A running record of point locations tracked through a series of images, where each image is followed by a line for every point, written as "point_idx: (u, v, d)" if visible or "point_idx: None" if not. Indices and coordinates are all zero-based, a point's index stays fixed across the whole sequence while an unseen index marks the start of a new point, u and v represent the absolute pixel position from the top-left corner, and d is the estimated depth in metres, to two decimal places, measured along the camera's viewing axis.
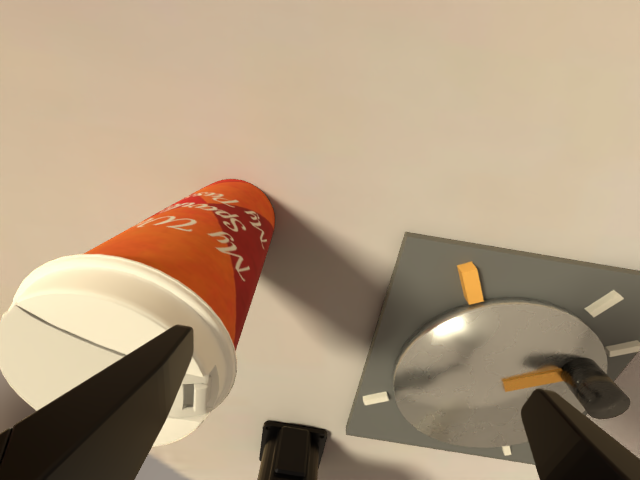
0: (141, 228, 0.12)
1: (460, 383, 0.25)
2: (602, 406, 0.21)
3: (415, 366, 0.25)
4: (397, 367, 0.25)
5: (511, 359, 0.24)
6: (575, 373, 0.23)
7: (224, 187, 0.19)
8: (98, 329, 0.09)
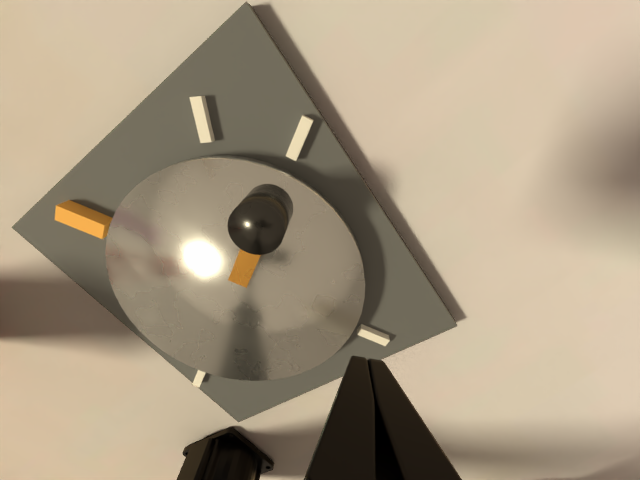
0: None
1: (206, 311, 0.20)
2: (251, 235, 0.14)
3: (154, 326, 0.21)
4: None
5: (201, 253, 0.18)
6: None
7: None
8: None
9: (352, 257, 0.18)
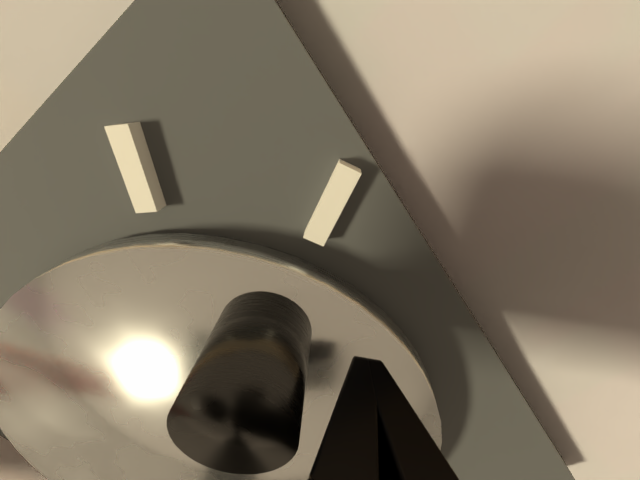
0: None
1: (169, 473, 0.12)
2: (224, 444, 0.06)
3: None
4: None
5: (149, 398, 0.10)
6: None
7: None
8: None
9: (421, 405, 0.10)
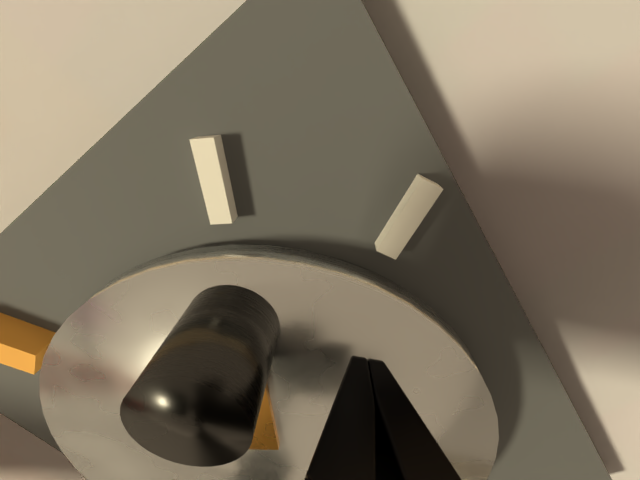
0: None
1: None
2: (187, 438, 0.06)
3: None
4: None
5: None
6: None
7: None
8: None
9: (429, 341, 0.09)
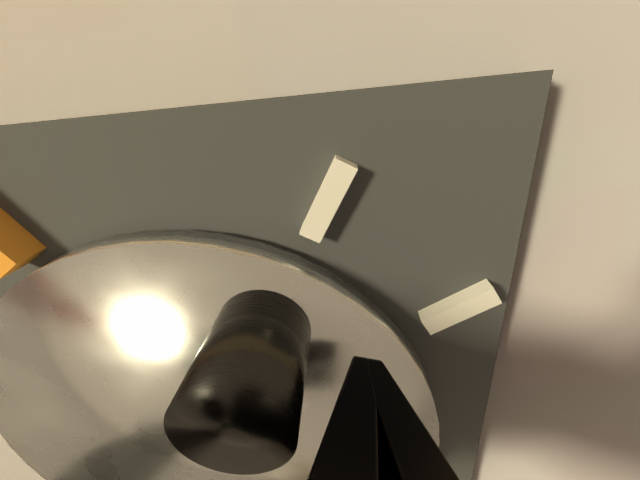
0: None
1: (165, 471, 0.12)
2: (221, 444, 0.06)
3: None
4: None
5: (145, 395, 0.10)
6: None
7: None
8: None
9: (419, 406, 0.10)
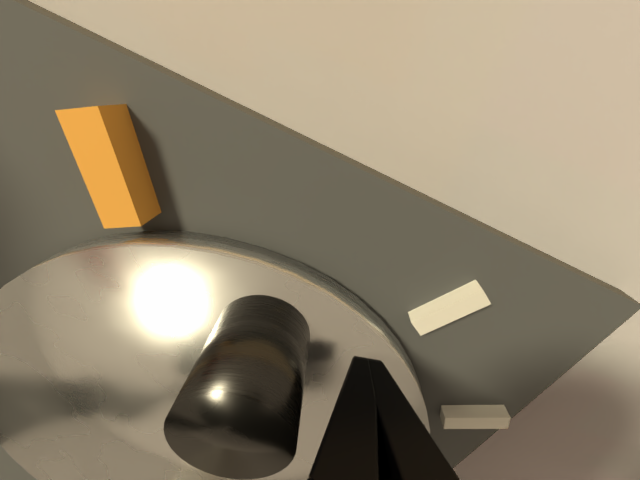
0: None
1: (154, 470, 0.12)
2: (220, 448, 0.06)
3: None
4: None
5: (139, 395, 0.10)
6: None
7: None
8: None
9: None
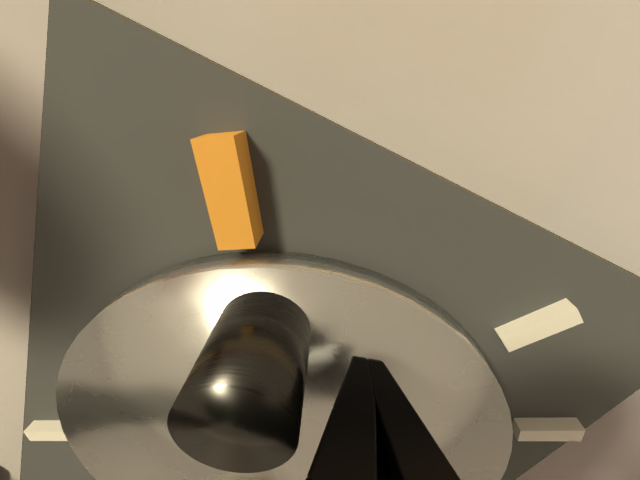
0: None
1: None
2: (231, 445, 0.06)
3: None
4: None
5: None
6: None
7: None
8: None
9: (456, 355, 0.09)
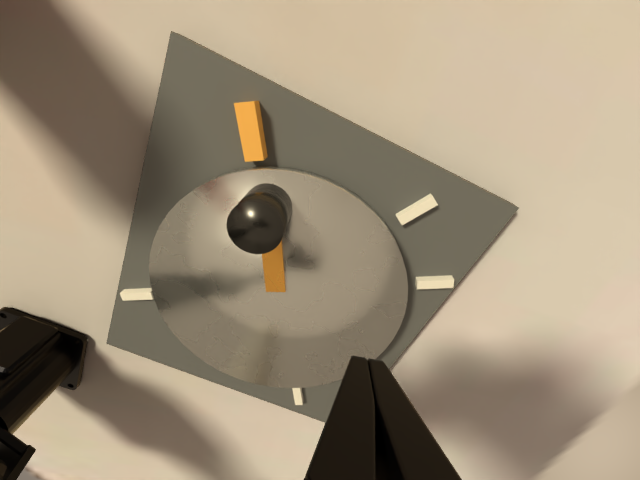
0: None
1: (263, 329, 0.21)
2: (253, 235, 0.14)
3: (226, 360, 0.22)
4: None
5: (232, 276, 0.19)
6: None
7: None
8: None
9: (368, 220, 0.17)
